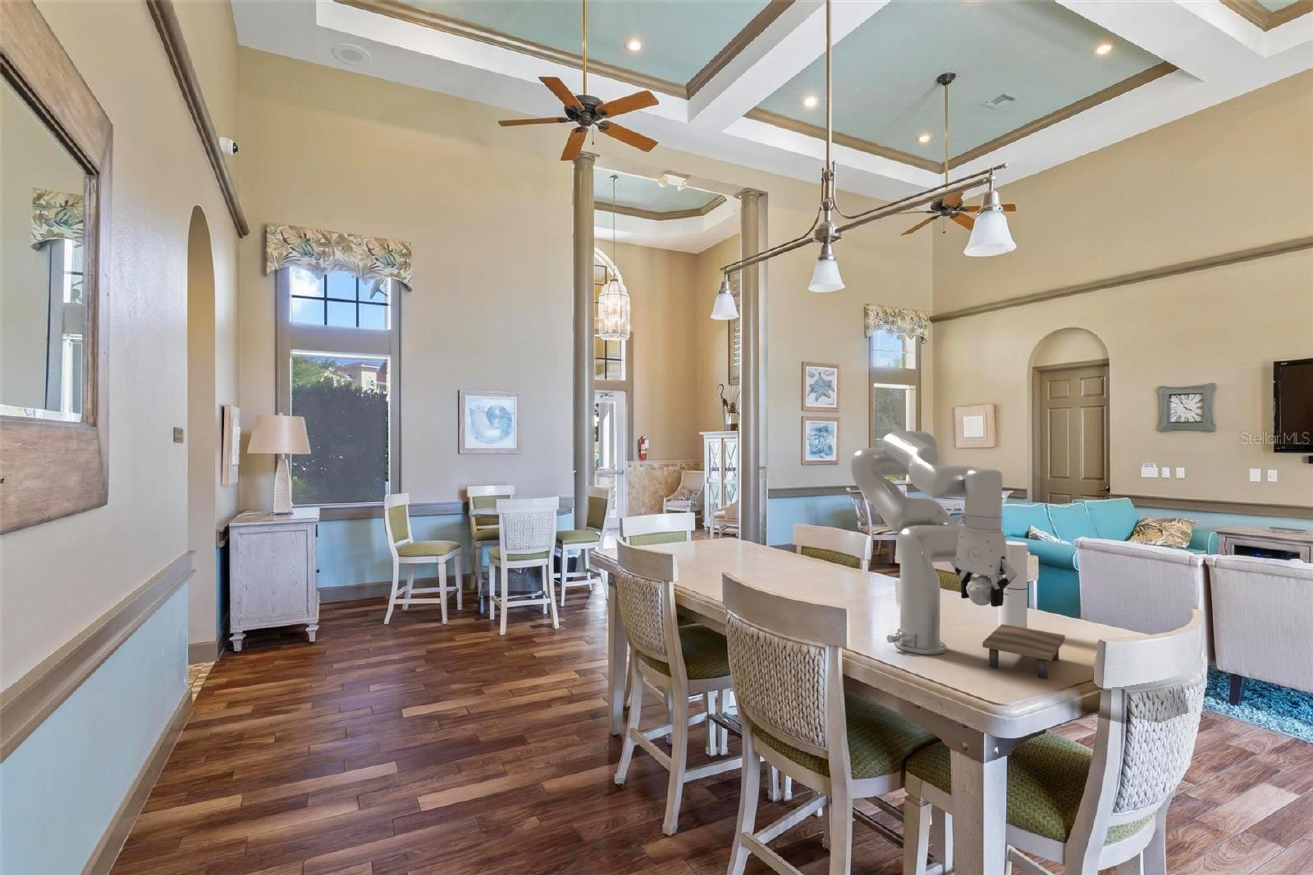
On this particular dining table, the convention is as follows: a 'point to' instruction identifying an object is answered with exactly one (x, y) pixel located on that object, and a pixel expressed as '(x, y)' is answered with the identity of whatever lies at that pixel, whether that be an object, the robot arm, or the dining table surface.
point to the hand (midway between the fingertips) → (981, 601)
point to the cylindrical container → (1015, 588)
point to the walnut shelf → (1024, 646)
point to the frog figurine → (980, 590)
